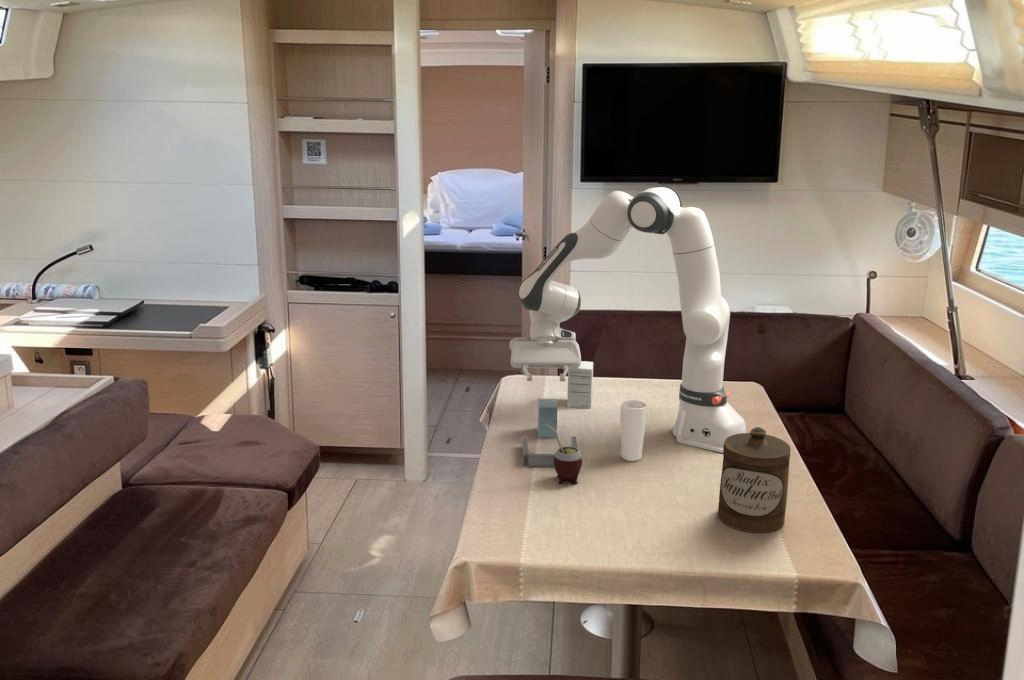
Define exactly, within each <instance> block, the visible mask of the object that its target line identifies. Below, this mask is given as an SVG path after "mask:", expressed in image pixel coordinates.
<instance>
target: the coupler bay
mask: <svg viewBox="0 0 1024 680" xmlns="http://www.w3.org/2000/svg"><path fill="white" fill-rule="evenodd" d="M570 442H571V443H570V447H574V448H576V449H578V450H579V451H580V449H579V445H578V440H577V436H571V439H570ZM528 445H529V444H528V436H527V435H522V436H521V453H522V463H523V467H524V466H543V467H545V468H547V467H548V468H549V467H551V468H553V467H554V455H555V453H529V447H528ZM554 468H555V467H554Z"/></svg>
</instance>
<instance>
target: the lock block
mask: <svg viewBox="0 0 1024 680" xmlns="http://www.w3.org/2000/svg"><path fill="white" fill-rule="evenodd" d="M546 424H547V425H549V426H550V427H552V428H553V429H555V430H556V431H557V432H558V403H557V399H556V398H537V422H536V425H537V427H536V429H537V430H538V431H537V438H538V439H557V438H556V436H555V434H554V432H553V431H552V430H551V429H550V428H549V427H548V426H546Z"/></svg>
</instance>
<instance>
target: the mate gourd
mask: <svg viewBox="0 0 1024 680" xmlns="http://www.w3.org/2000/svg"><path fill="white" fill-rule="evenodd" d="M546 426H548V427H549V428H550V429H551V430H552V431H553V432H554V434H555V436H556V438H555V439H556V441H557V443H558V446H559V448H558V449H557V450H556V451H555V452H554V454H555V455H554V471H555V472H556V474H557V475H556V478H557V477H558V480H559V481H558V482H557V483H558V485H562V484H565V483H567V482H568V483H571V484H573V485H578V477H579V473H580V471H581V469H582V466H583V458H582V454H581V452H580V449H579V450H578V449H576V448H574V447H571V446H562V444H561V440H560V437H559V433H558V430H557V431H556V430H555V429H553V428H552V427H550V426H549V425H547V424H546Z"/></svg>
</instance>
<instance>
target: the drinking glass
mask: <svg viewBox="0 0 1024 680" xmlns="http://www.w3.org/2000/svg"><path fill="white" fill-rule="evenodd" d="M619 416H620V418H619V419H620V443H621V445H620V447H621V448H620V449H621V450H620V451H621V452H620V455H621V458H622V459H623V460H624V461H627V462H638V461H640V460H641V458H642V456H643V446H644V438H645V434H646V426H647V418H648V417H647V416H648V404H647V403H646V402H644V401H641V400H636V399H635V400H633V399H629V400H624V401H622V402H621V404H620V415H619Z"/></svg>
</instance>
